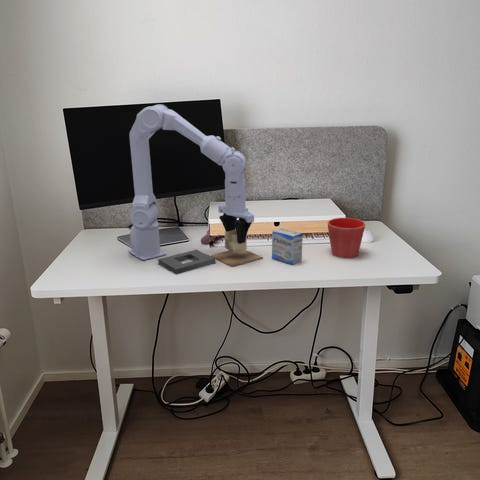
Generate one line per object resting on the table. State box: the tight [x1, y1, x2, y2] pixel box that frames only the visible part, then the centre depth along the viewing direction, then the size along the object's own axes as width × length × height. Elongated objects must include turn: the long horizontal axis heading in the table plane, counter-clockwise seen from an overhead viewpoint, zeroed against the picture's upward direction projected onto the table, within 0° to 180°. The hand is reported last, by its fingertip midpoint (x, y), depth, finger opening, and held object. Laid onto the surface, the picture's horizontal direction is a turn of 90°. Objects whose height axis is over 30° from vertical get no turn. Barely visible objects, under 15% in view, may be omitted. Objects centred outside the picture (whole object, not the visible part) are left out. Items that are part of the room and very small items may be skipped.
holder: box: [157, 249, 217, 275], centre depth 146 cm, size 10×13×2 cm
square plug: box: [224, 229, 247, 252], centre depth 148 cm, size 4×4×5 cm
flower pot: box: [327, 217, 366, 259], centre depth 150 cm, size 11×11×10 cm
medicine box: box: [271, 228, 304, 266], centre depth 146 cm, size 8×4×9 cm, turn 47°
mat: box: [210, 249, 264, 268], centre depth 150 cm, size 11×11×1 cm
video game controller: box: [200, 229, 220, 245], centre depth 165 cm, size 10×5×7 cm, turn 169°
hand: (236, 240), depth 148 cm, fingers closed on square plug, 4 cm apart
